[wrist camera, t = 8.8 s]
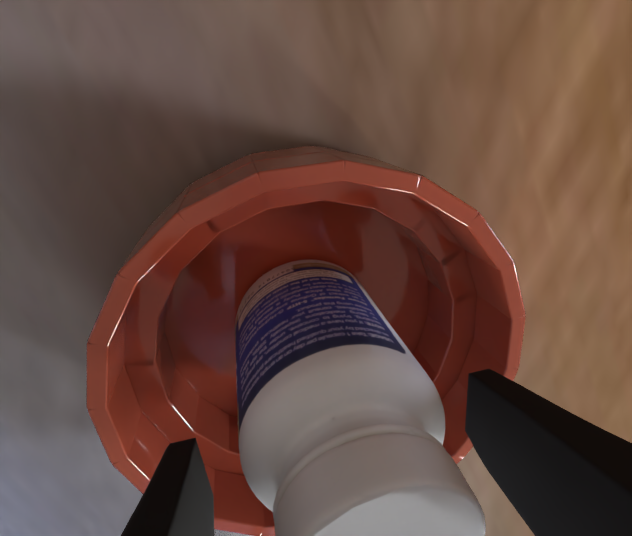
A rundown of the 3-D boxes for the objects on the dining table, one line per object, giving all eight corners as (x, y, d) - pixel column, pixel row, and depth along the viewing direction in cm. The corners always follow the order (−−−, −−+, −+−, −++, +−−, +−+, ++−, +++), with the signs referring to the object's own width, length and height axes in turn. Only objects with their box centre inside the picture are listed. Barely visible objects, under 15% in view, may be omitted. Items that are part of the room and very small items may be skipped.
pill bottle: (204, 325, 14) (171, 605, 6) (306, 227, 14) (416, 399, 6) (301, 396, 17) (369, 672, 8) (394, 315, 16) (562, 528, 8)
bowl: (446, 401, 19) (504, 481, 15) (177, 467, 17) (161, 577, 13) (457, 123, 14) (550, 130, 10) (74, 174, 12) (-5, 208, 8)
